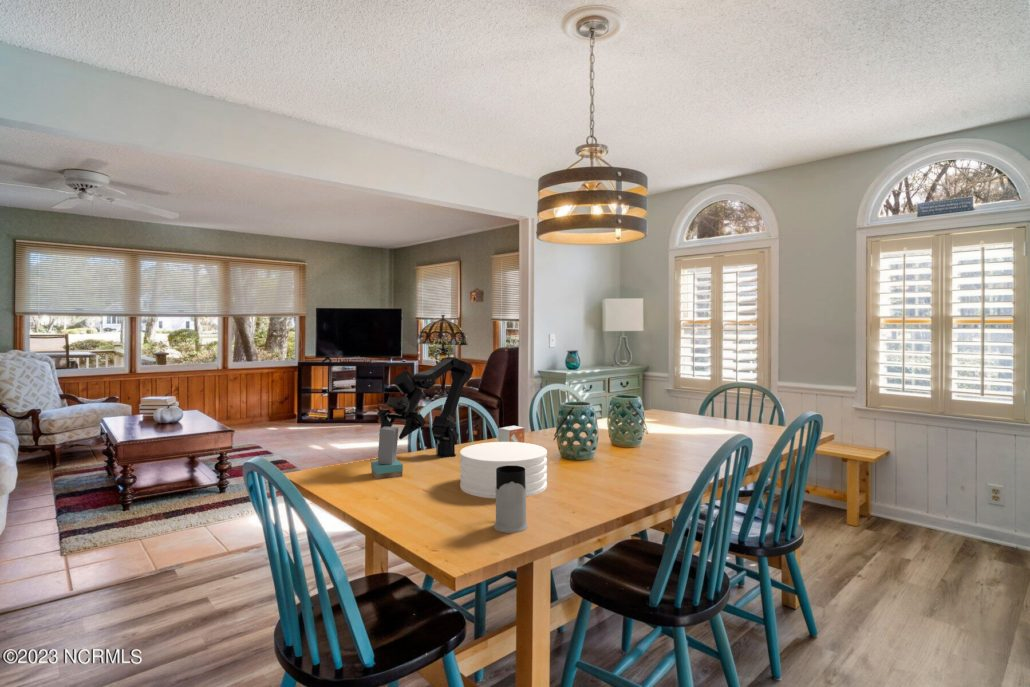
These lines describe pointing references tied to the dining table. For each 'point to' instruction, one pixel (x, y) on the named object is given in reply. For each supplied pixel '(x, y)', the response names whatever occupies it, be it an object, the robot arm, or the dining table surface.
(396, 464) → the teal slab
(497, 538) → the dining table surface
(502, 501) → the glass holder
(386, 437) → the grey pillar block
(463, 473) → the plate stack
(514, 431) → the small box
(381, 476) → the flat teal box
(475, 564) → the dining table surface
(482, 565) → the dining table surface
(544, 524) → the dining table surface
